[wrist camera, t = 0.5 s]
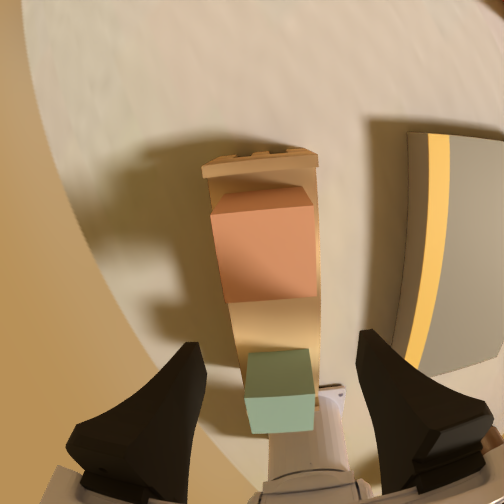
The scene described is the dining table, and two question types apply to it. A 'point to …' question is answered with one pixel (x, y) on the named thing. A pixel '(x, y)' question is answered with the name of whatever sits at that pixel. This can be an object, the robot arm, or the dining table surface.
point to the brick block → (265, 245)
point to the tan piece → (284, 310)
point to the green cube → (280, 391)
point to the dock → (452, 254)
